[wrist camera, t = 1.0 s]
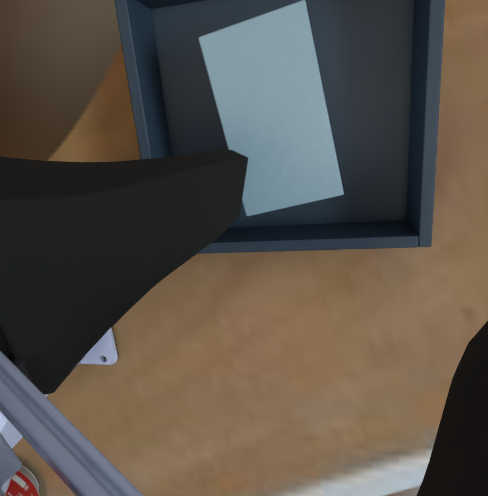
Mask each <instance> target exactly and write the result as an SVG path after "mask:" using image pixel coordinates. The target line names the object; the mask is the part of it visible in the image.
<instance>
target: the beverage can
mask: <svg viewBox="0 0 488 496" xmlns="http://www.w3.org/2000/svg"><path fill="white" fill-rule="evenodd" d="M5 494H6V495H7V496H39V484H38V481H37V479H36V477H35V476H34V475H33V473H32V472H31V471H30V470H29V469H27V468H26V467H25V466H23V465H22V466H21V469H20V470H18V471H17V472H16V473H15V474H14V475H13V476H12V477H11V479H10V483H9V486H8V489H7V491H6V493H5Z"/></svg>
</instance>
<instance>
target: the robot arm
mask: <svg viewBox="0 0 488 496" xmlns="http://www.w3.org/2000/svg"><path fill="white" fill-rule="evenodd" d="M247 164H248V157H246V156H244V155H242V154H240V153H237V152H235V151H233V150H216V151H207V152H199V153H191V154H184V155H176V156H169V157H161V158H151V159H141V160H131V161H118V162H59V161H39V160H28V159H18V158H9V157H1V156H0V496H7V495H6V494H5V493H6V491H7V489H8V486H9V483H10V479H11V477H12V476H13V475H14V474H15V473H16V472H17V471H18V470H20V469H21V466H22V462H21V461H20V460H19V458H18V457H17V455H16V454H15V453H14V451H13V450H12V448H13V447H14V446H15V445H16V444H17V443H18V442H19V441H20V440H21V438H22V437H24V438H25V439H26V440H27V442H28V443H29V444H30V445H31V446H32V447H33V448H34V449H35V450H36V452H37V453H38V454H39V455H40V456H41V457H42V458H43V459H44V460H45V462H46V463H47V464H48V465H49V466H50V467H51V468H52V469H53V470H54V472H55V473H56V474H57V475H58V476H59V477H60V478H61V479H62V480H63V482H64V483H65V484H66V485H67V486H68V487H69V488H70V489H71V490H72V492H73V493H74V494H75V495H76V496H143V495H142V494H141V493H140V491H139V490H138V489H137V488H136V487H135V486H134V485H133V484H132V483H131V482H130V481H129V480H128V479H127V478H126V477H125V476H124V475H123V474H122V473H121V472H120V471H119V470H118V469H117V468H116V467H115V466H114V465H113V464H112V463H111V462H110V461H109V460H108V459H107V458H106V457H105V456H104V455H103V454H102V453H101V452H100V451H99V450H98V449H97V448H96V447H95V446H94V445H93V444H92V443H91V442H90V441H89V440H88V439H87V438H86V437H85V436H84V435H83V434H82V433H81V432H80V431H79V430H78V429H77V428H76V427H75V426H74V425H73V424H72V423H71V422H70V421H69V420H68V419H67V418H66V417H65V416H64V415H63V414H62V413H61V412H60V411H59V410H58V409H57V408H56V407H55V406H54V405H53V404H52V403H51V402H50V401H49V400H48V399H47V398H46V397H47V396H48V395H49V394H51V393H54V392H55V391H56V389H57V388H58V387H59V386H60V384H61V383H62V382H63V381H64V380H65V378H66V377H67V376H68V375H69V374H70V373H71V371H72V370H73V369H74V368H75V367H76V366H77V365H78V364H102V365H113V364H115V363H116V361H117V360H118V355H117V350H116V346H115V341H114V337H113V332H112V326H113V325H114V324H115V323H116V322H117V321H118V320H119V319H120V318H121V317H122V316H123V315H124V314H125V313H126V312H127V311H128V310H129V309H130V308H131V307H132V306H133V305H134V304H135V303H137V302H138V301H139V300H140V299H141V298H142V297H143V296H144V295H145V294H146V293H147V292H148V291H149V290H150V289H151V288H153V287H154V286H155V285H156V284H157V283H159V282H160V281H161V280H162V279H163V278H165V277H166V276H167V275H169V274H170V273H171V272H173V271H174V270H175V269H177V268H178V267H179V266H181V265H182V264H183V263H185V262H186V261H188V260H189V259H190V258H192V257H193V256H194V255H196V254H197V253H198V252H200V251H201V250H202V249H204V248H205V247H206V246H208V245H209V244H210V243H211V242H213V241H214V240H215V239H217V238H218V237H219V236H220V235H221V234H222V233H223V232H224V231H225V230H226V229H227V228H228V227H229V226H230V225H231V224H232V223H233V222H234V221H235V220H236V219H237V218H238V217H239V216H240V210H241V204H242V197H243V191H244V184H245V177H246V171H247ZM103 356H104V357H105V358H106V359H105V358H103ZM417 496H488V321H487V322H486V323H485V325H484V326H483V327H482V328H481V329H480V330H479V332H478V333H477V334H476V335H475V336H474V337H473V338H472V340H471V341H470V342H469V343H468V345H467V347H466V350H465V352H464V354H463V356H462V358H461V360H460V363H459V365H458V367H457V369H456V372H455V374H454V376H453V379H452V382H451V386H450V389H449V393H448V396H447V400H446V403H445V407H444V410H443V414H442V418H441V421H440V425H439V429H438V432H437V436H436V439H435V443H434V447H433V450H432V454H431V457H430V461H429V464H428V467H427V470H426V473H425V476H424V479H423V481H422V484H421V486H420V489H419V491H418V494H417Z"/></svg>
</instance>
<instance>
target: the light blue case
mask: <svg viewBox="0 0 488 496" xmlns="http://www.w3.org/2000/svg"><path fill="white" fill-rule="evenodd" d="M198 39H199V43H200V47H201V50H202V54H203V58H204V61H205V65H206V69H207V73H208V76H209V80H210V84H211V87H212V91H213V95H214V98H215V102H216V106H217V109H218V113H219V117H220V120H221V124H222V128H223V132H224V135H225V139H226V143H227V146H228V150H233V151H235V152H237V153H240V154H242V155H244V156H246V157H248V164H247V171H246V177H245V184H244V191H243V197H242V202H243V205H244V209H245V213H246V216H251V215H256V214H260V213H265V212H269V211H273V210H278V209H282V208H287V207H291V206H296V205H300V204H305V203H309V202H313V201H318V200H322V199H327V198H331V197H336V196H340V195H343V194H344V192H343V187H342V182H341V177H340V172H339V167H338V162H337V157H336V152H335V147H334V142H333V137H332V132H331V127H330V122H329V117H328V112H327V107H326V102H325V97H324V92H323V87H322V82H321V77H320V72H319V67H318V62H317V57H316V52H315V47H314V42H313V37H312V32H311V27H310V22H309V17H308V12H307V6H306V1H305V0H302V1H299V2H296V3H293V4H290V5H288V6H285V7H282V8H279V9H276V10H274V11H271V12H268V13H265V14H262V15H259V16H257V17H254V18H251V19H248V20H245V21H243V22H240V23H237V24H234V25H231V26H228V27H226V28H223V29H220V30H217V31H214V32H212V33H209V34H206V35H203V36H200V37H199V38H198Z"/></svg>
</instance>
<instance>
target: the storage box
mask: <svg viewBox="0 0 488 496" xmlns="http://www.w3.org/2000/svg"><path fill="white" fill-rule="evenodd" d="M114 1H115V7H116V12H117V18H118V25H119V30H120V37H121V43H122V49H123V55H124V61H125V67H126V73H127V79H128V85H129V91H130V96H131V102H132V108H133V114H134V120H135V126H136V132H137V138H138V144H139V150H140V156H141V159H151V158H161V157H169V156H176V155H184V154H191V153H199V152H207V151H216V150H228V146H227V143H226V139H225V135H224V132H223V128H222V124H221V120H220V117H219V113H218V109H217V106H216V102H215V98H214V95H213V91H212V87H211V84H210V80H209V76H208V73H207V69H206V65H205V61H204V58H203V54H202V50H201V47H200V43H199V39H198V38H199V37H200V36H203V35H206V34H209V33H212V32H214V31H217V30H220V29H223V28H226V27H228V26H231V25H234V24H237V23H240V22H243V21H245V20H248V19H251V18H254V17H257V16H259V15H262V14H265V13H268V12H271V11H274V10H276V9H279V8H282V7H285V6H288V5H290V4H293V3H296V2H299V1H302V0H114ZM305 1H306V6H307V12H308V17H309V22H310V27H311V32H312V37H313V42H314V47H315V52H316V57H317V62H318V67H319V72H320V77H321V82H322V87H323V92H324V97H325V102H326V107H327V112H328V117H329V122H330V127H331V132H332V137H333V142H334V147H335V152H336V157H337V162H338V167H339V172H340V177H341V182H342V187H343V192H344V194H343V195H340V196H336V197H331V198H327V199H322V200H318V201H313V202H309V203H305V204H300V205H296V206H291V207H287V208H282V209H278V210H273V211H269V212H265V213H260V214H256V215H251V216H246V213H245V209H244V205H243V202H242V204H241V210H240V216H239V217H238V218H237V219H236V220H235V221H234V222H233V223H232V224H231V225H230V226H229V227H228V228H227V229H226V230H225V231H224V232H223V233H222V234H221V235H220V236H219V237H218V238H217V239H215V240H214V241H213V242H211V243H210V244H209V245H208V246H206V247H205V248H204V249H202V250H201V251H200V252H198V253H232V252H267V251H302V250H338V249H373V248H408V247H431V242H432V224H433V207H434V189H435V171H436V153H437V136H438V118H439V100H440V82H441V64H442V47H443V29H444V11H445V0H305Z"/></svg>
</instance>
